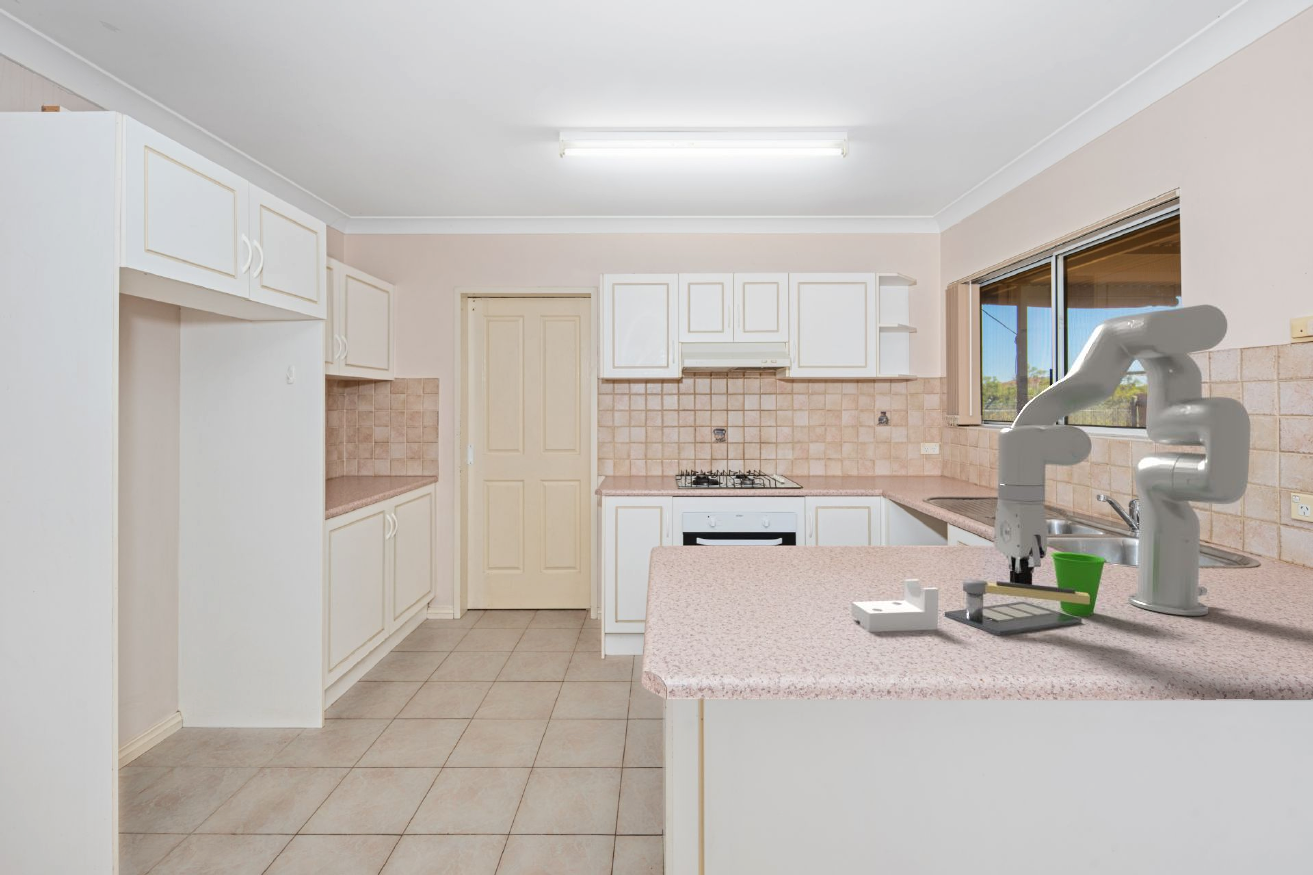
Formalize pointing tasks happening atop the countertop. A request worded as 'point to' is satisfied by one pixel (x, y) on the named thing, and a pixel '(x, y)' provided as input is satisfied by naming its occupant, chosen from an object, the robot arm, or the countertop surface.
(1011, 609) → the grey base plate
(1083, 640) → the countertop surface
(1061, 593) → the swing arm
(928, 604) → the bracket
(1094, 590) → the cup
